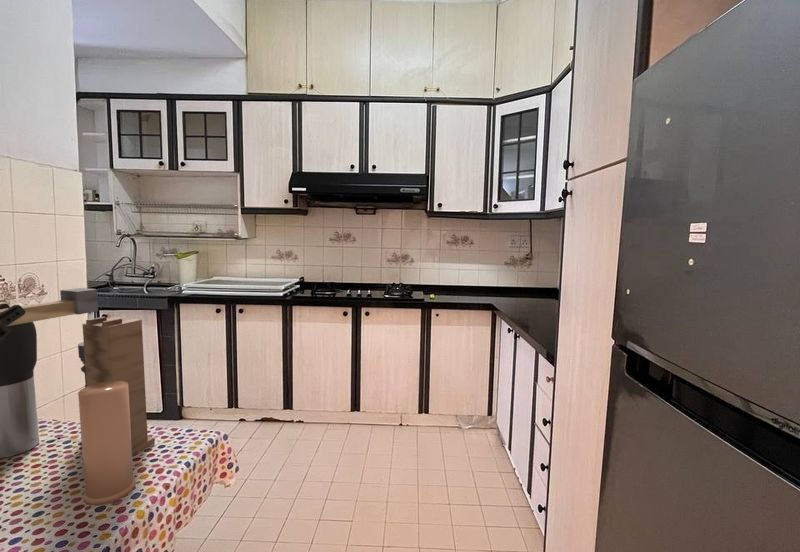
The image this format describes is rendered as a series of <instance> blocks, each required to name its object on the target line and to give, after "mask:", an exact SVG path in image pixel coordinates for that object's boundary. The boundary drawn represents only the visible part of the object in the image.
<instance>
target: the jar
mask: <svg viewBox="0 0 800 552" xmlns="http://www.w3.org/2000/svg"><path fill="white" fill-rule="evenodd" d="M77 393H78V395H77V396H78V408H79V410H78V411H79V422H80V423H79V425H80V438H81V450H82V451H81V453H82V466H83V467H82V468H83V480H84V490H83V493H82V495H83V502H84V503H85V504H86V505H88V506H102V505H108V504H110V503H114V502H116V501H119V500H121V499H122V498H124V497H126V496H128V495H129V494H130V493H131V492H132V491H134V489H135V487H136V477H135V475H134V468H133V467H134V466H133V457H132V444H131V426H130V408H129V390H128V383H127V382H124V381H108V382H102V383H97V384H93V385H90V386H87V387H85V386H84V387H82V388H81V389H80V390H79V391H78V392H77Z"/></svg>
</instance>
